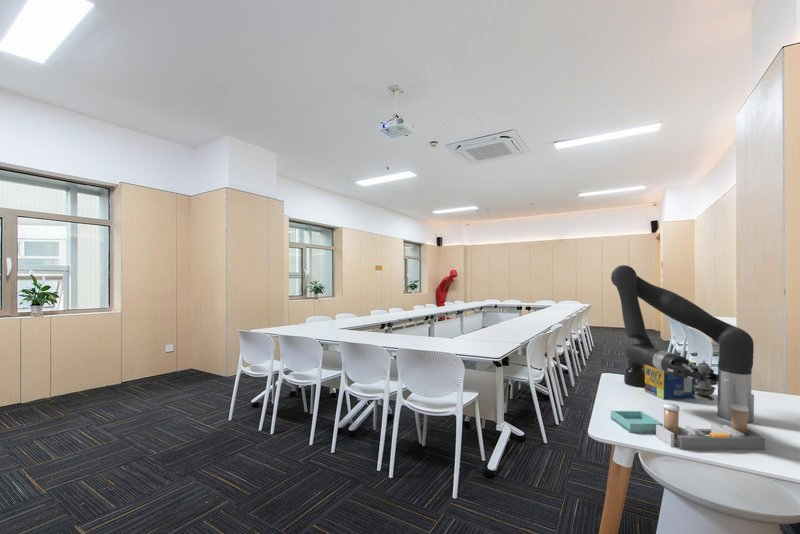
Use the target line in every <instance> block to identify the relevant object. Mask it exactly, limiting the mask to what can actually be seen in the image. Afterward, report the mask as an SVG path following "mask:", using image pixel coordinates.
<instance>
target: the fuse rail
mask: <svg viewBox="0 0 800 534" xmlns="http://www.w3.org/2000/svg"><path fill="white" fill-rule="evenodd" d="M654 434H655V437H656V438H657V439H658V440H660V441H662V442H663V443H665V444H667V445H668V446H669V447H670V448H672V447H675V443H674V433H672V432H671V431H669V430H667V429H666V428H664V426H663V427H662V426H661V425H656V430H655V433H654ZM706 434H707V435H706ZM676 447H677V448H678V447H679V448H678V449H680V450H731V449H740V450H742V451H745V450H746V451H747V450H749V451H750V450H751V451H754V450H757V451H759V450H761V451H765V450H766V438H765V437H764V434H763V433H762V432H759V431H756V430H755V429H752V428H751V427H748V426H747V436H745V434H743V433H741V432H739V431H737V430H735V429H733V428H731V426H729V425H726V424H723V425H722V428H721V427H719V426H717V425H714V424H711V425H710V428H695V427H694V426H691V425H690V424H685V428H683V427H682V426H679V425H678V435H677V443H676Z"/></svg>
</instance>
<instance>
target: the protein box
mask: <svg viewBox="0 0 800 534" xmlns="http://www.w3.org/2000/svg"><path fill="white" fill-rule="evenodd" d="M687 360H688V359H687ZM688 361H689V362H690V363H691V364H694V365H696V366H697V362H695V361H691V360H688ZM644 370H645V387H644V392H646V391H647V392H646V393H648V392H649V393H648V394H650V393H651V394H650V395H653V396H655V397H657V398H660V399H661V398H662V399H661V400H689V399H690V398H692V399H691V400H693V399H694V398H695V397H694V396H693V395H694V394H697V393H696V392H695V391H694V389H693V386H692V384H694V383H697V379H692V378H689V377H687V378H684V377H681V378H679V377H675V376H672V375H670V374H667V373H665V372H663V371H661V370H659V369H657V368H654V367H652V366H650V365H644ZM685 398H686V399H685ZM687 398H688V399H687ZM695 399H696V398H695ZM695 399H694V400H695Z"/></svg>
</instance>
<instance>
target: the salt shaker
mask: <svg viewBox="0 0 800 534" xmlns="http://www.w3.org/2000/svg"><path fill="white" fill-rule="evenodd" d="M697 366H698V372H699V373H702V374H704V375H705V376H706V381H705V382H702V381H700V380H697V379H696V383H694V384H692V386H693V389H694V391H695V392H696V394H694V395H693V396H694V397H695V399H698V400H702V401H708V402H709V401H714V400H715V398H714V397H712V395H713V394H714V393H715V390H716V387H715V386H713V385H711V382H710V381H711V380H710V377H711V375H710V364H708V363H706V360H702V362H700V363H699V364H698V365H697Z"/></svg>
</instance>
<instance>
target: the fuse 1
mask: <svg viewBox="0 0 800 534" xmlns="http://www.w3.org/2000/svg"><path fill="white" fill-rule="evenodd" d="M662 408H663V427H664V428H666V429H667V430H669V431H671V432H672V433H674V444H677V435H678V426H679V425H680V424H679V419H680V418H679V413H680V406H679V405H677V404H673V403H670V402H669V403H668V402H667V403H666V402H665V403H663V404H662Z"/></svg>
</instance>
